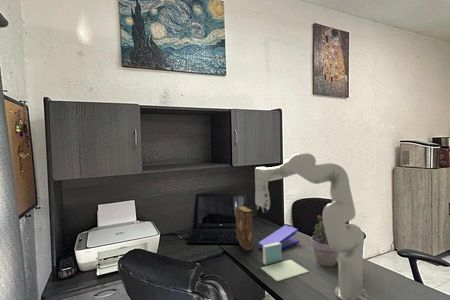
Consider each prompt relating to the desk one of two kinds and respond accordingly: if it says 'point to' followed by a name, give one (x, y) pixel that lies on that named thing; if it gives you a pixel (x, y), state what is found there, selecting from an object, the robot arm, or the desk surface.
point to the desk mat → (284, 270)
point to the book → (244, 227)
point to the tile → (272, 253)
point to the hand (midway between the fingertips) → (262, 217)
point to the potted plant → (322, 246)
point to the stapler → (281, 237)
